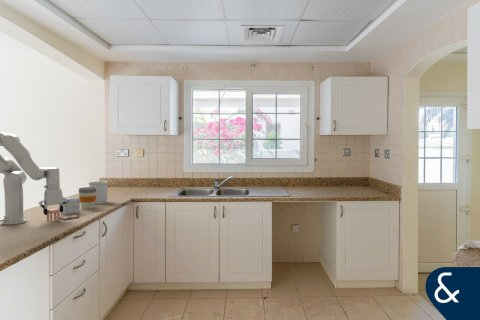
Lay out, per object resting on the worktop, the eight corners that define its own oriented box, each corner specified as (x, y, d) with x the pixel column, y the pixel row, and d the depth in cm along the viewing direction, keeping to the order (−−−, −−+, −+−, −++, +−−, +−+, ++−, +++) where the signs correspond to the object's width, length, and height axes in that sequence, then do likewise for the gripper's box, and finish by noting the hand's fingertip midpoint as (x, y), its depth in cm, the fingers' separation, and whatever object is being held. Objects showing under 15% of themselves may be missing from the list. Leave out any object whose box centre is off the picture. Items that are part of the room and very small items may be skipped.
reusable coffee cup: (91, 209, 250) (91, 189, 249) (75, 209, 250) (75, 189, 249) (99, 206, 262) (99, 187, 262) (83, 205, 263) (83, 187, 262)
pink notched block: (50, 221, 209) (50, 210, 209) (46, 220, 213) (46, 209, 212) (59, 220, 214) (59, 209, 214) (55, 218, 217) (55, 208, 217)
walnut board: (64, 220, 214) (64, 218, 214) (56, 218, 220) (56, 216, 220) (79, 217, 222) (79, 216, 222) (71, 215, 228) (71, 214, 228)
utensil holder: (92, 201, 284) (92, 180, 283) (110, 201, 286) (110, 180, 285) (86, 204, 269) (86, 182, 269) (105, 204, 271) (105, 183, 270)
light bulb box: (75, 211, 243) (75, 196, 242) (80, 212, 238) (80, 197, 238) (60, 213, 234) (60, 198, 234) (64, 214, 230) (64, 199, 230)
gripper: (41, 188, 203) (41, 216, 204) (69, 185, 217) (70, 211, 218) (35, 187, 207) (36, 214, 208) (63, 185, 221) (64, 210, 222)
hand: (53, 213), depth 213 cm, fingers open, 9 cm apart
